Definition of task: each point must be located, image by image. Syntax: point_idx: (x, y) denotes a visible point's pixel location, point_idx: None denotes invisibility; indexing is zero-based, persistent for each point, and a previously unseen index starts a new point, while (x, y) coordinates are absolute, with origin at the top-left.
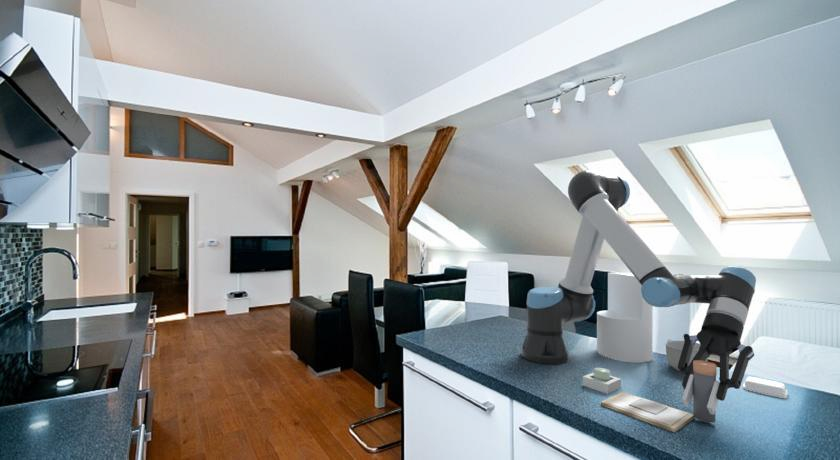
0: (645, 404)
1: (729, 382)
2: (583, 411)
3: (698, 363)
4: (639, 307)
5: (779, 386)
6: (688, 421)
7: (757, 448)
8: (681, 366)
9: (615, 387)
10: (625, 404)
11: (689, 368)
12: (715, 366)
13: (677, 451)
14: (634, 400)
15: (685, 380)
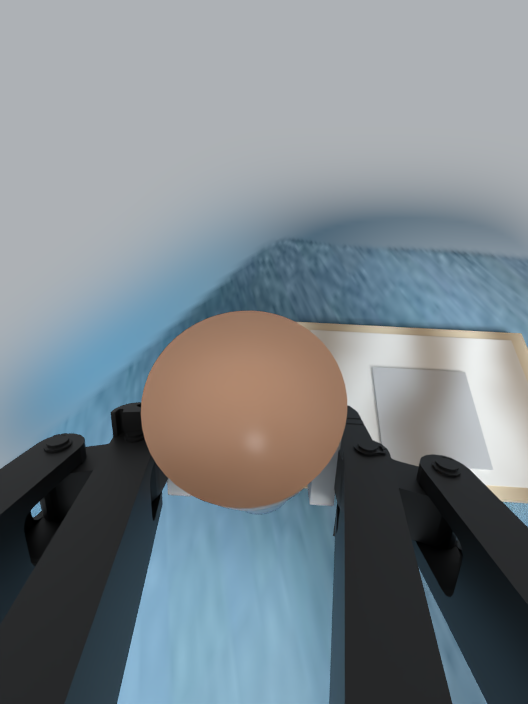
0: (439, 419)
1: (100, 451)
2: (494, 273)
3: (283, 339)
4: None
5: None
6: None
7: (111, 403)
8: (435, 460)
9: None
10: (472, 370)
11: (374, 467)
12: (149, 374)
13: (258, 254)
14: (489, 434)
15: (352, 426)
